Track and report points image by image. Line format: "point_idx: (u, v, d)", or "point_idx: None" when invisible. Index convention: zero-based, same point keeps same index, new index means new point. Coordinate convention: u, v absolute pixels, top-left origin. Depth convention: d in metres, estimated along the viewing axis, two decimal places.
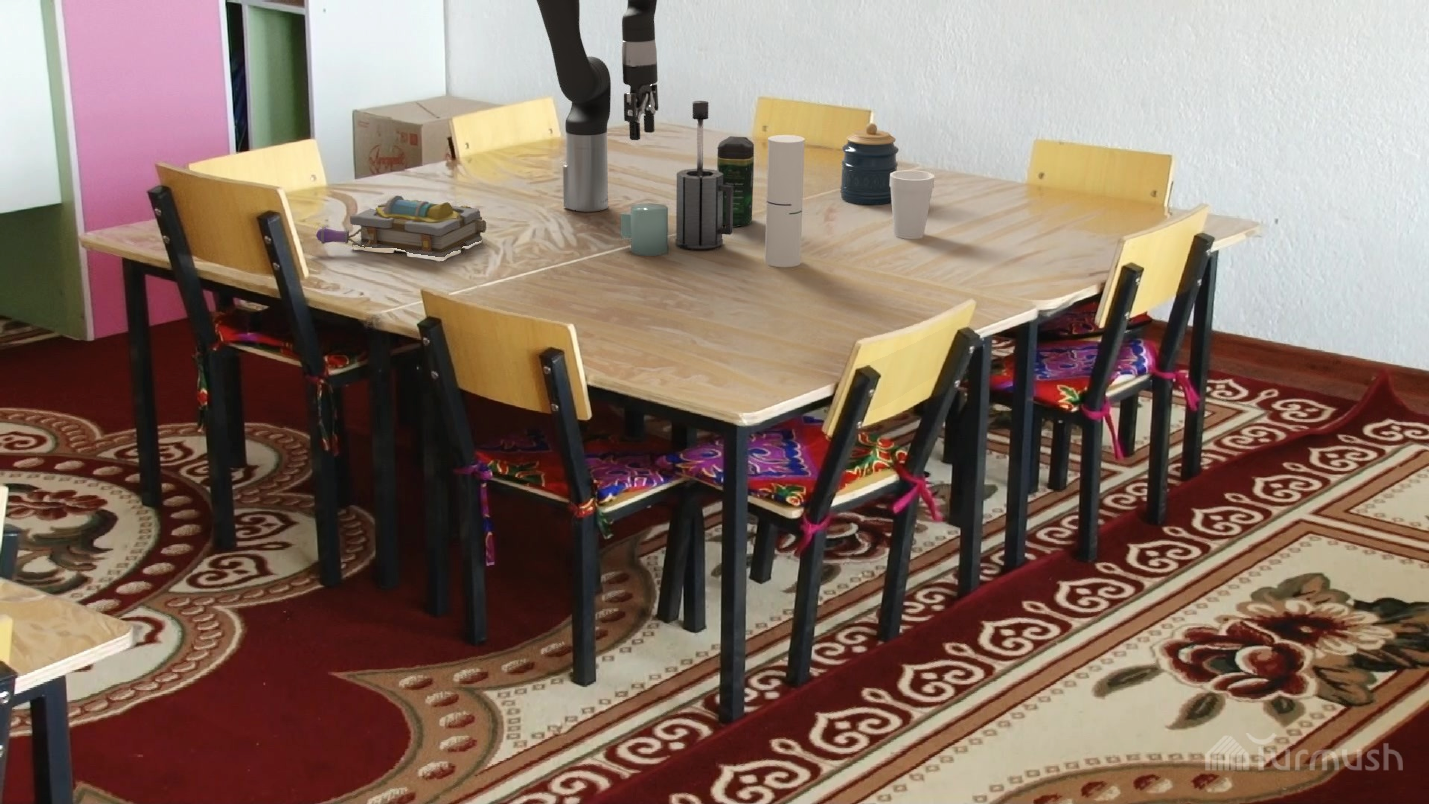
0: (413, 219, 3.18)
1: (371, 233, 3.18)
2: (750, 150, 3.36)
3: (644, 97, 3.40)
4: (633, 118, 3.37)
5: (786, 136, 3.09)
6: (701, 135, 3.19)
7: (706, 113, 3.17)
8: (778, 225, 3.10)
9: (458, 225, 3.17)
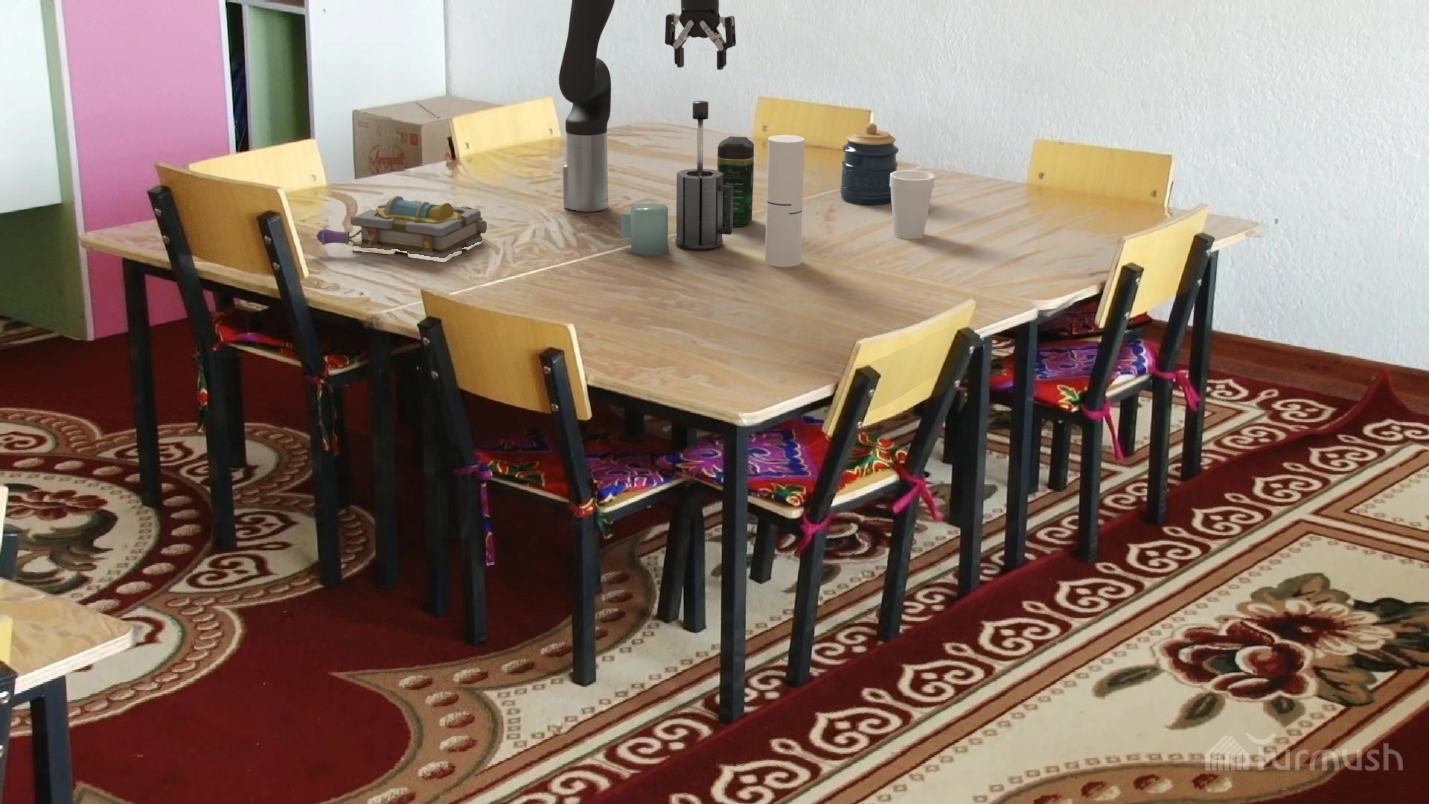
0: (414, 220, 3.17)
1: (372, 234, 3.17)
2: (750, 150, 3.36)
3: None
4: (735, 42, 3.12)
5: (786, 136, 3.09)
6: (701, 135, 3.19)
7: (706, 113, 3.17)
8: (778, 225, 3.10)
9: (459, 226, 3.17)
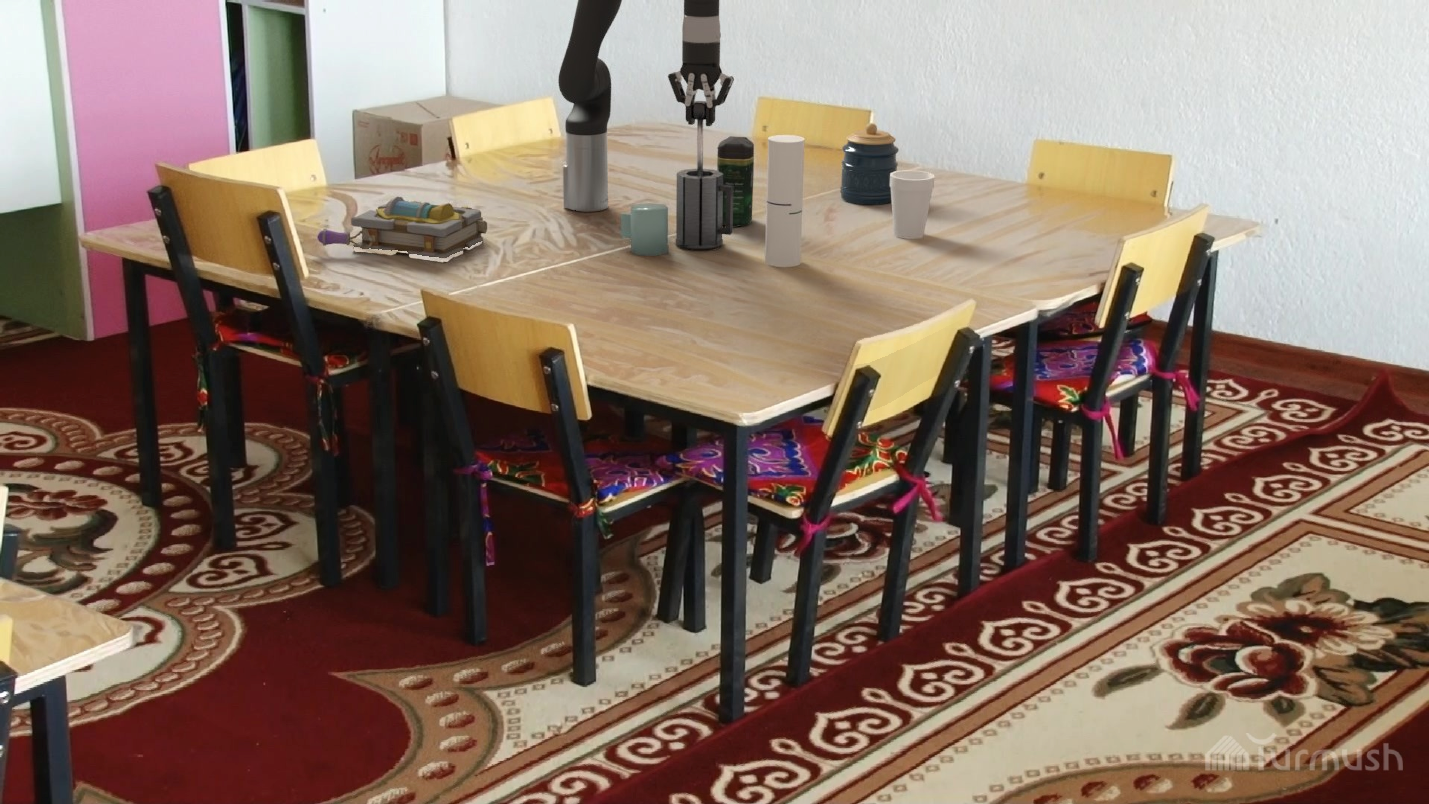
0: (415, 220, 3.17)
1: (373, 234, 3.17)
2: (750, 150, 3.36)
3: None
4: (724, 100, 3.16)
5: (786, 136, 3.09)
6: (701, 135, 3.19)
7: None
8: (778, 225, 3.10)
9: (460, 226, 3.17)
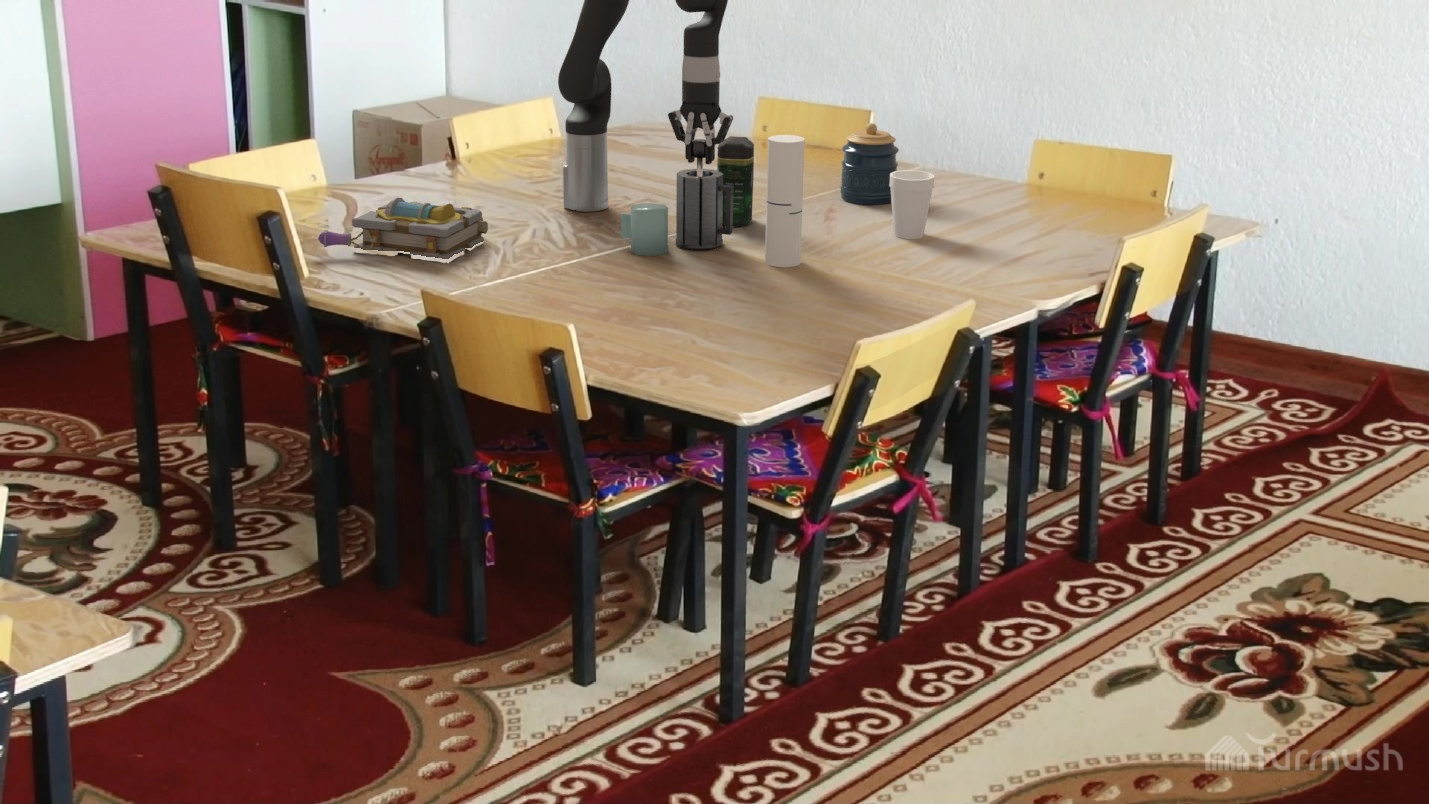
0: (416, 221, 3.16)
1: (374, 235, 3.16)
2: (750, 150, 3.36)
3: None
4: (723, 138, 3.19)
5: (786, 136, 3.09)
6: (701, 173, 3.22)
7: None
8: (778, 225, 3.10)
9: (462, 226, 3.16)
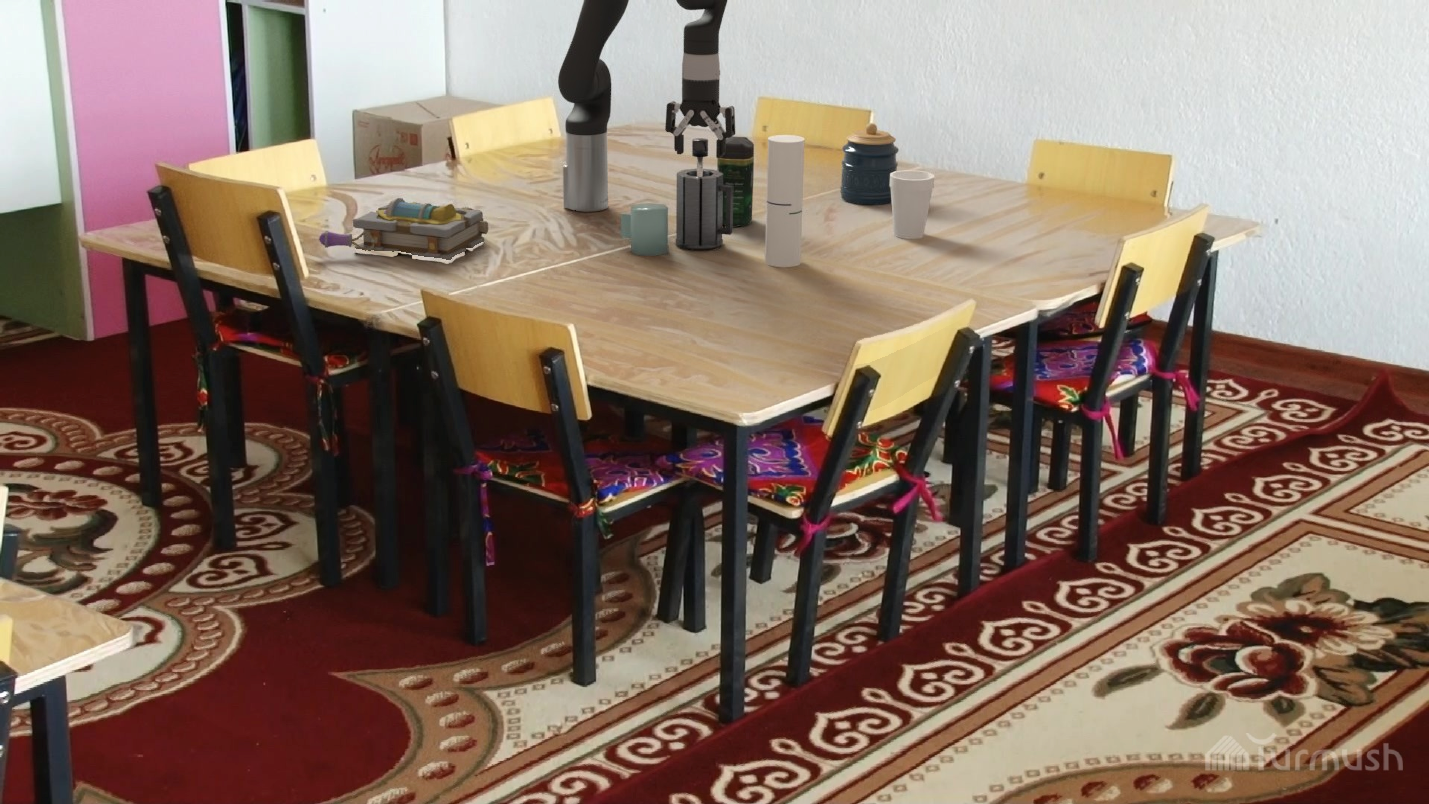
0: (417, 221, 3.16)
1: (375, 236, 3.16)
2: (750, 150, 3.36)
3: None
4: (734, 132, 3.18)
5: (786, 136, 3.09)
6: (701, 172, 3.22)
7: (706, 151, 3.20)
8: (778, 225, 3.10)
9: (463, 227, 3.16)
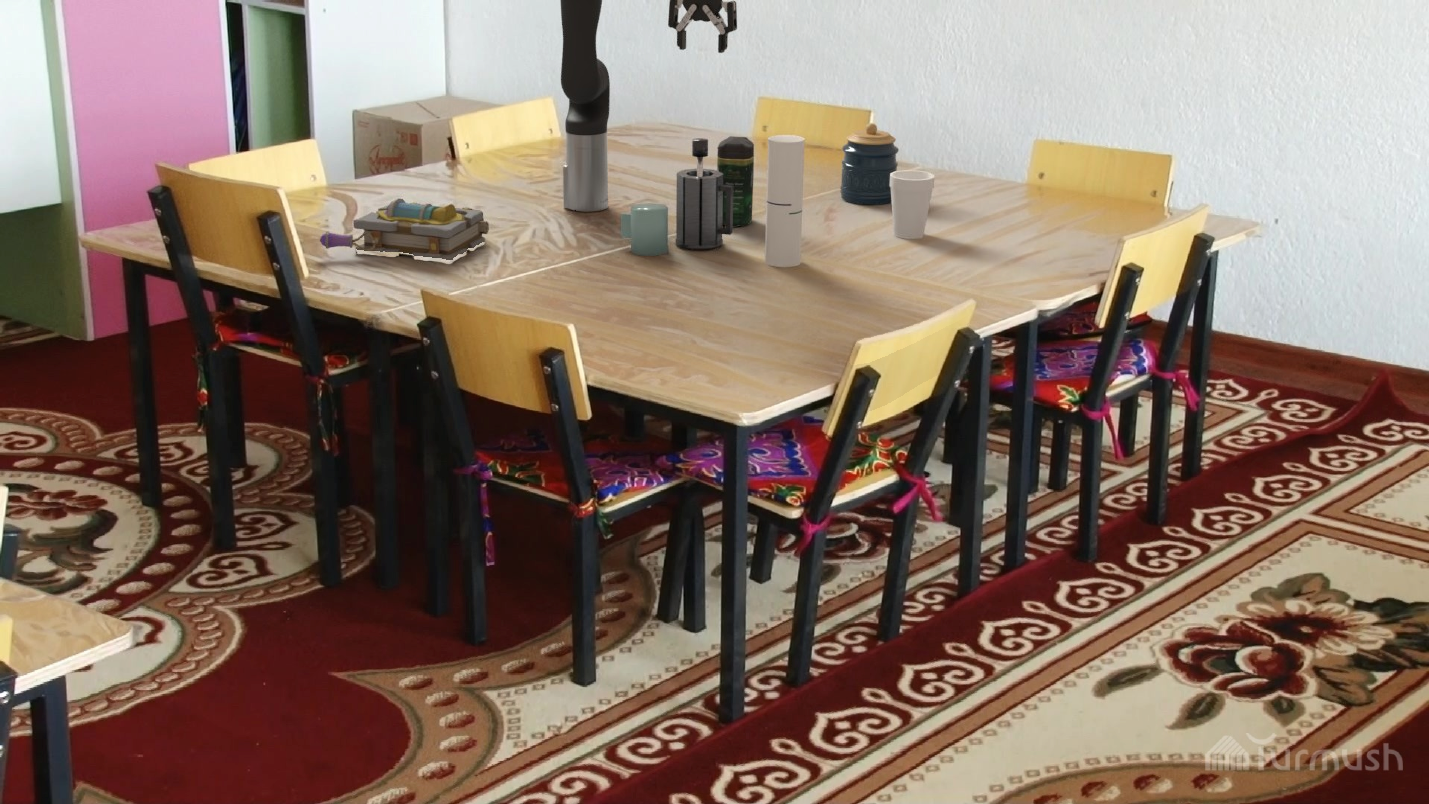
0: (418, 222, 3.16)
1: (376, 237, 3.15)
2: (750, 150, 3.36)
3: None
4: (736, 27, 3.22)
5: (786, 136, 3.09)
6: (701, 172, 3.22)
7: (706, 151, 3.20)
8: (778, 225, 3.10)
9: (464, 227, 3.16)
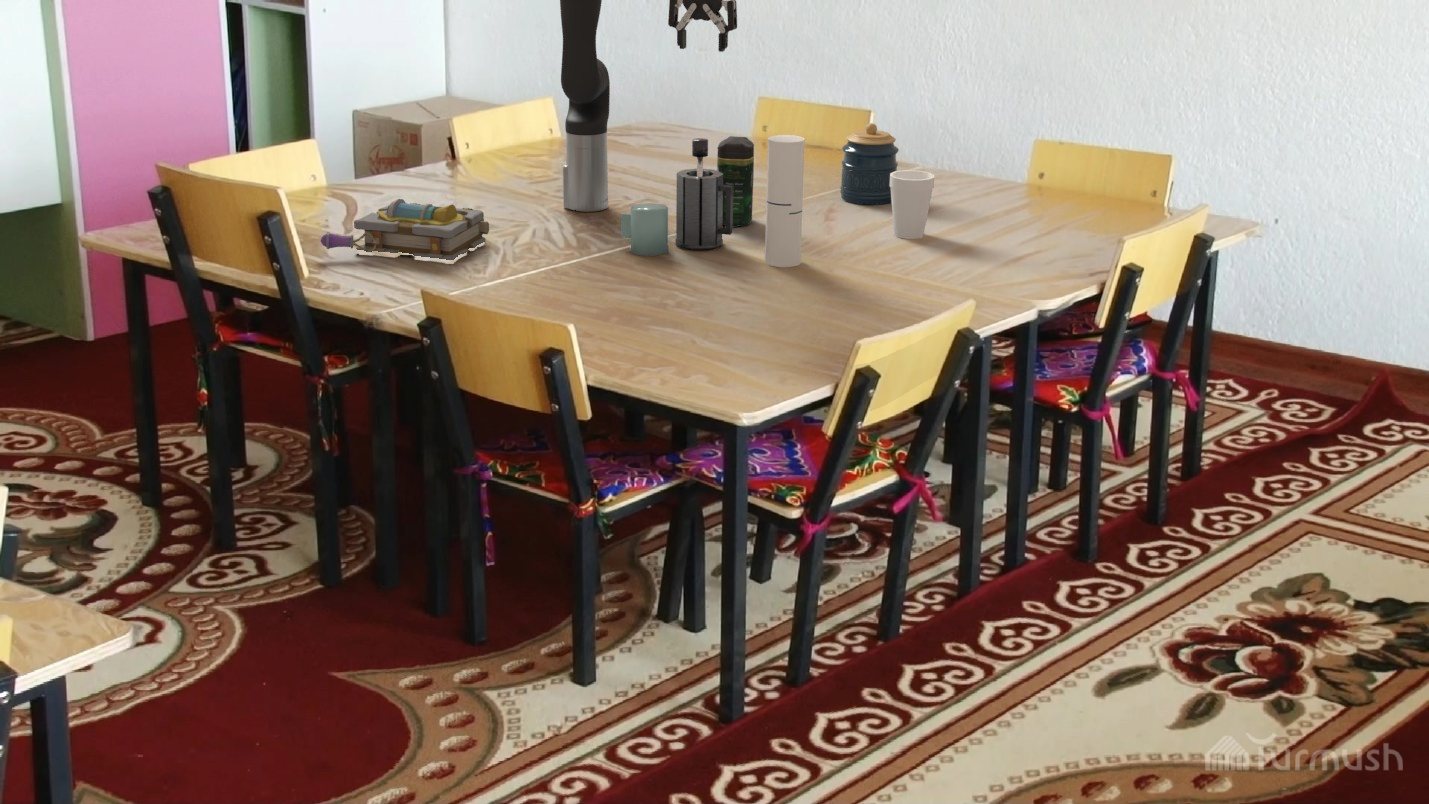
0: (419, 222, 3.16)
1: (376, 237, 3.15)
2: (750, 150, 3.36)
3: None
4: (736, 25, 3.23)
5: (786, 136, 3.09)
6: (701, 172, 3.22)
7: (706, 151, 3.20)
8: (778, 225, 3.10)
9: (465, 227, 3.16)
